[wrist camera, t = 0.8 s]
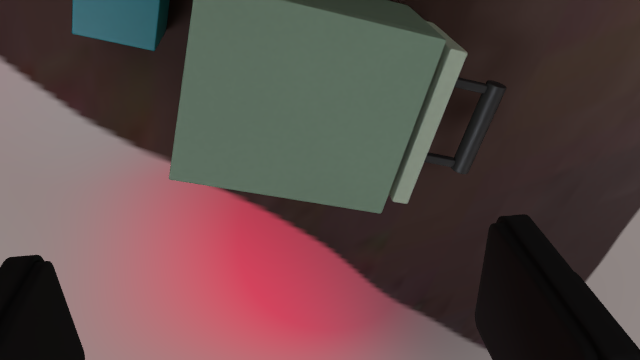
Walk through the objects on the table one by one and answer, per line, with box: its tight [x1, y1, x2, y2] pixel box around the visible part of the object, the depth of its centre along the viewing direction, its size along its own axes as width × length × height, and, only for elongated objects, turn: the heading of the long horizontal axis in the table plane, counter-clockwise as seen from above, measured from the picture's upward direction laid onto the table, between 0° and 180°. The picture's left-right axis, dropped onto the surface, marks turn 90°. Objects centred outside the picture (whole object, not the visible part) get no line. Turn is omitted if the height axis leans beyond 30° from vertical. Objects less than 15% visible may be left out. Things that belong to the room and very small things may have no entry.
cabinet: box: [169, 0, 446, 213], centre depth 36 cm, size 15×13×9 cm
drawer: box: [389, 21, 506, 204], centre depth 37 cm, size 18×11×7 cm, turn 75°
